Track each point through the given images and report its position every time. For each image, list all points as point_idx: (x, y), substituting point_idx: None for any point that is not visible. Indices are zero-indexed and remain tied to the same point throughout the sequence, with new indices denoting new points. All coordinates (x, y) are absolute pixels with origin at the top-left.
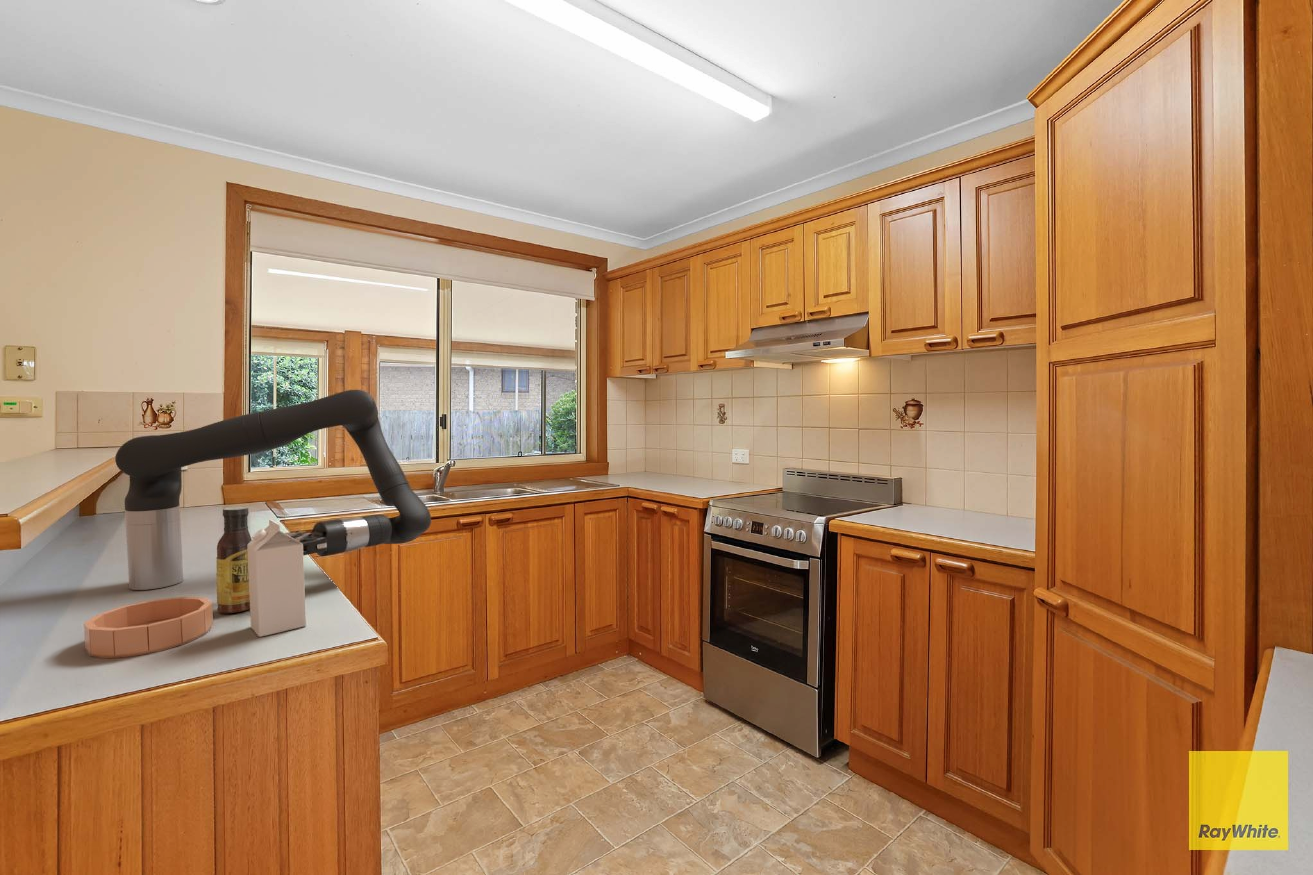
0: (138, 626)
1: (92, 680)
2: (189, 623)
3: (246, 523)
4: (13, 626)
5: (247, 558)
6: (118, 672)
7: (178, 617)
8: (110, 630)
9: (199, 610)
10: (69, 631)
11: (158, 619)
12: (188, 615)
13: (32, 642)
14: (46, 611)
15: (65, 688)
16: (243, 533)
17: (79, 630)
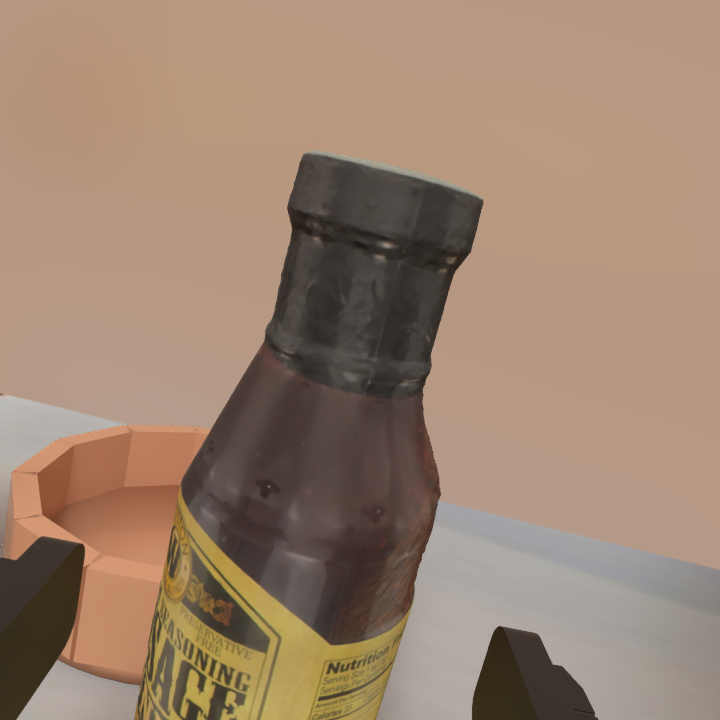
0: (85, 437)
1: (24, 448)
2: (9, 514)
3: (304, 309)
4: (591, 539)
5: (168, 554)
6: (6, 466)
7: (34, 474)
8: (131, 425)
9: (28, 514)
10: (456, 547)
11: None
12: (14, 485)
13: None
14: (708, 594)
15: (42, 433)
16: (252, 370)
17: (447, 554)
